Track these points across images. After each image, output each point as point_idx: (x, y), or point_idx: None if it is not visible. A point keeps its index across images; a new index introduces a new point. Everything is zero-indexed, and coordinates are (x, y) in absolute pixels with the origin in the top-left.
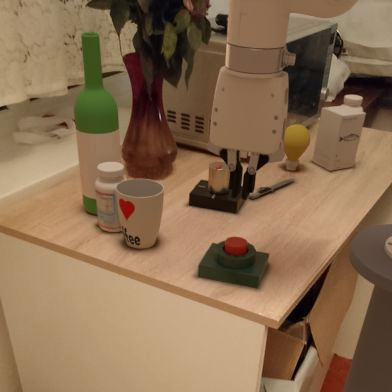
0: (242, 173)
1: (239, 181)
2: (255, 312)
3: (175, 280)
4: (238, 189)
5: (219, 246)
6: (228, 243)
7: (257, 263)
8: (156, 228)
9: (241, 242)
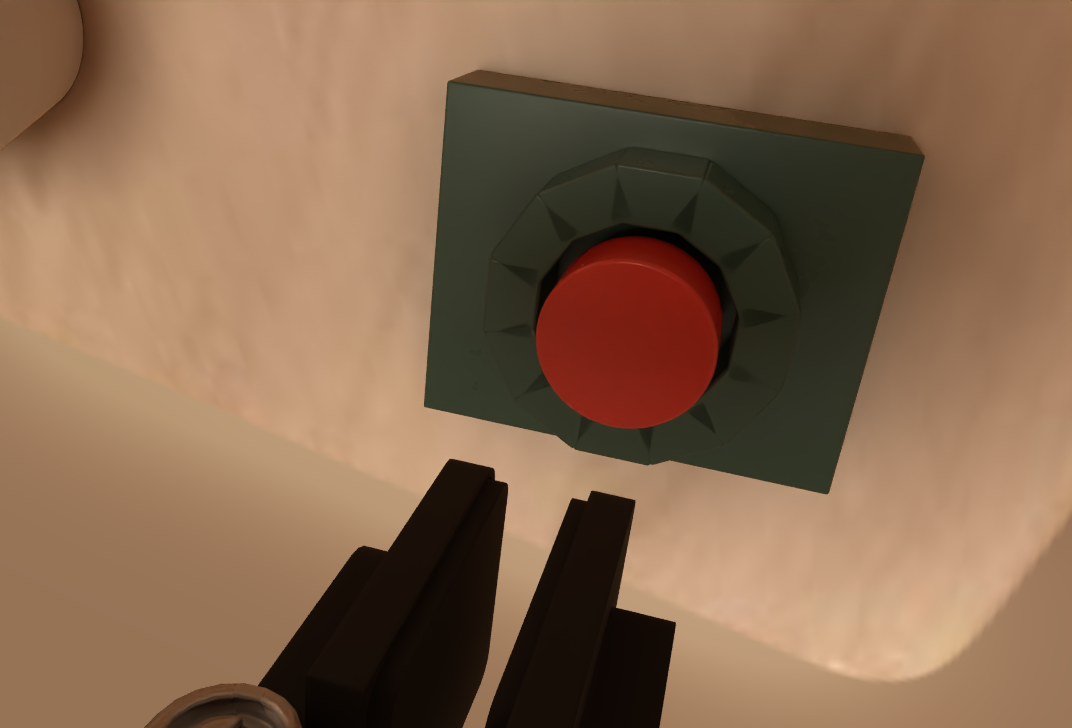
0: (432, 631)
1: (441, 714)
2: (809, 659)
3: (345, 427)
4: (473, 645)
5: (508, 305)
6: (566, 385)
7: (818, 331)
8: (13, 90)
9: (666, 355)
